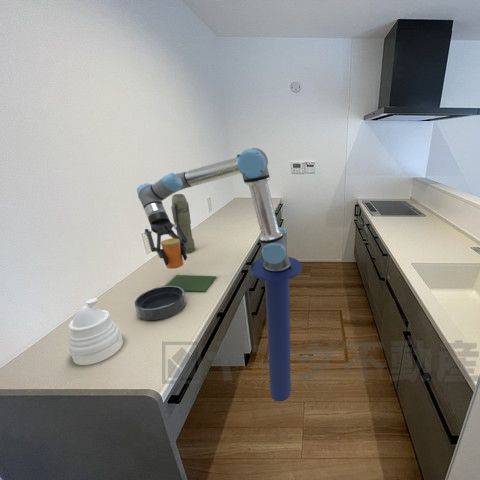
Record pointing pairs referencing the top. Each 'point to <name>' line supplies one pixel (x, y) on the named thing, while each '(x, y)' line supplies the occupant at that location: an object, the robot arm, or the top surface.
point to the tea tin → (172, 252)
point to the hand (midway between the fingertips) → (176, 261)
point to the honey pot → (93, 335)
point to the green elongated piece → (183, 219)
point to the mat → (192, 282)
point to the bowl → (160, 302)
